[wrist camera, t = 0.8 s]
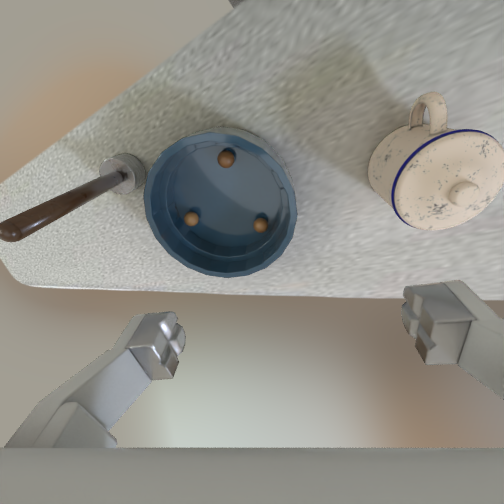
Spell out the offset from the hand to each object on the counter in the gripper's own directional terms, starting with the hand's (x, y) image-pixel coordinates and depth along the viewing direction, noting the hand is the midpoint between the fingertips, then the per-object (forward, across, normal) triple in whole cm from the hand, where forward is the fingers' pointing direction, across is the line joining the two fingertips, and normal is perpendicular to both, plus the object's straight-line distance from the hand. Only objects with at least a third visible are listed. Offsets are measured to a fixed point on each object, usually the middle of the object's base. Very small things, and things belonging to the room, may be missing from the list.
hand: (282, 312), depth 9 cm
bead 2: (+24, +6, -2) cm, 25 cm away
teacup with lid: (+26, -15, +2) cm, 30 cm away
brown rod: (+26, +19, -2) cm, 32 cm away
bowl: (+26, +8, +4) cm, 27 cm away
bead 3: (+24, +4, +8) cm, 26 cm away
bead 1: (+24, +13, +5) cm, 28 cm away
